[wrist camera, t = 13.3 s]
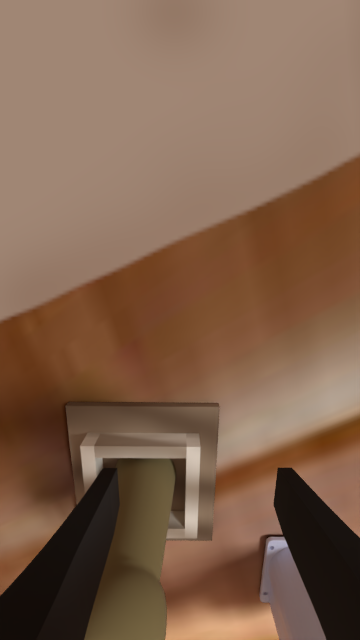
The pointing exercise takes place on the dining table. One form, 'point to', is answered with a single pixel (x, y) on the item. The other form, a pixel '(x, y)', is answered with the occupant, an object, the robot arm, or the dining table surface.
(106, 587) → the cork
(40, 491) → the dining table surface
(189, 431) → the collar board
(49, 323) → the dining table surface
